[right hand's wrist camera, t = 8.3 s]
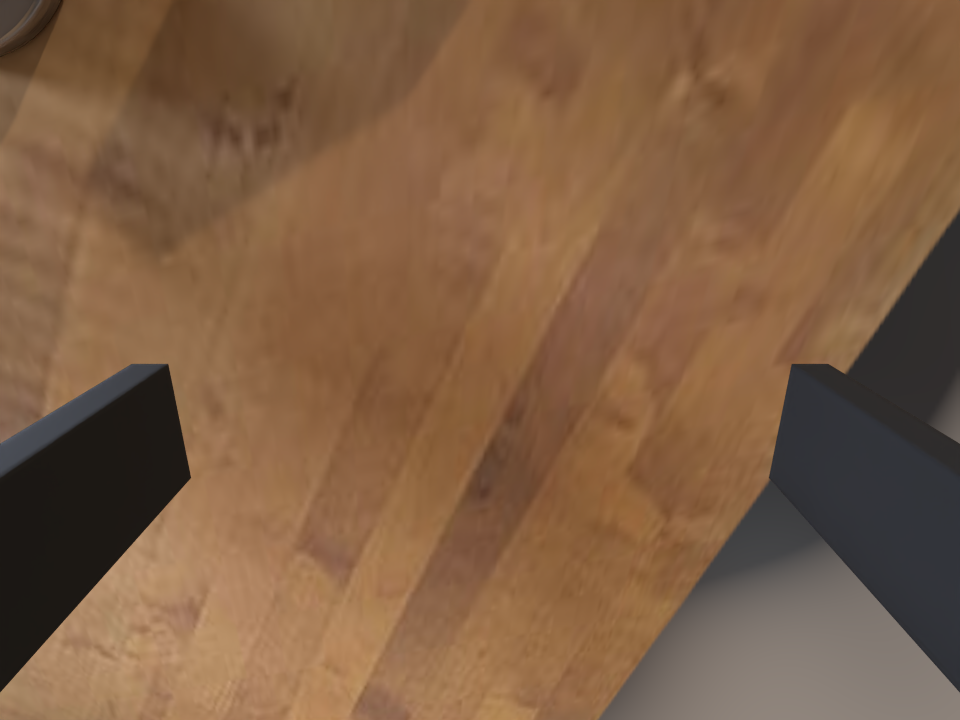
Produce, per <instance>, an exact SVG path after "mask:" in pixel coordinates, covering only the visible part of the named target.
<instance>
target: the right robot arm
mask: <svg viewBox="0 0 960 720" xmlns="http://www.w3.org/2000/svg"><path fill="white" fill-rule="evenodd" d="M60 1H61V0H0V56H2V55H5V54H7V53H10V52H12V51H14V50H16V49H18V48H20V47H22V46H23V45H25V44H26V43H27V42H29V41H30V40H32V39H33V38H34V37H35V36H36V35H37V34H38V33H39V32H40V31H41V30H42V29H43V28H44V27H45V26H46V24H47V23H48V22H49V21H50V19H51V18H52V16H53V14H54V13H55V11H56V10H57V8H58V6H59V3H60ZM190 478H191V476H190V471H189V466H188V461H187V456H186V451H185V446H184V441H183V436H182V431H181V426H180V421H179V416H178V411H177V406H176V401H175V396H174V391H173V386H172V381H171V376H170V371H169V366H168V364H131V365H129V366H128V367H126V368H124V369H123V370H121V371H120V372H118V373H116V374H115V375H113V376H111V377H110V378H108V379H106V380H105V381H103V382H101V383H100V384H98V385H96V386H95V387H93V388H91V389H90V390H88V391H87V392H85V393H83V394H82V395H80V396H78V397H77V398H75V399H73V400H72V401H70V402H68V403H67V404H65V405H63V406H62V407H60V408H58V409H57V410H55V411H54V412H52V413H50V414H49V415H47V416H45V417H44V418H42V419H40V420H39V421H37V422H35V423H34V424H32V425H30V426H29V427H27V428H26V429H24V430H22V431H21V432H19V433H17V434H16V435H14V436H12V437H11V438H9V439H7V440H6V441H4V442H2V443H1V444H0V692H1V691H2V690H3V689H4V687H5V686H6V685H7V684H8V683H9V682H10V681H11V680H12V678H13V677H14V676H15V675H16V674H17V673H18V672H19V671H20V669H21V668H22V667H23V666H24V665H25V664H26V663H27V662H28V660H29V659H30V658H31V657H32V656H33V655H34V654H35V653H36V652H37V650H38V649H39V648H40V647H41V646H42V645H43V644H44V643H45V641H46V640H47V639H48V638H49V637H50V636H51V635H52V634H53V632H54V631H55V630H56V629H57V628H58V627H59V626H60V625H61V623H62V622H63V621H64V620H65V619H66V618H67V617H68V616H69V614H70V613H71V612H72V611H73V610H74V609H75V608H76V607H77V605H78V604H79V603H80V602H81V601H82V600H83V599H84V598H85V596H86V595H87V594H88V593H89V592H90V591H91V590H92V589H93V587H94V586H95V585H96V584H97V583H98V582H99V581H100V580H101V578H102V577H103V576H104V575H105V574H106V573H107V572H108V571H109V569H110V568H111V567H112V566H113V565H114V564H115V563H116V562H117V560H118V559H119V558H120V557H121V556H122V555H123V554H124V553H125V551H126V550H127V549H128V548H129V547H130V546H131V545H132V544H133V542H134V541H135V540H136V539H137V538H138V537H139V536H140V535H141V533H142V532H143V531H144V530H145V529H146V528H147V527H148V526H149V524H150V523H151V522H152V521H153V520H154V519H155V518H156V517H157V515H158V514H159V513H160V512H161V511H162V510H163V509H164V508H165V506H166V505H167V504H168V503H169V502H170V501H171V500H172V499H173V497H174V496H175V495H176V494H177V493H178V492H179V491H180V490H181V488H182V487H183V486H184V485H185V484H186V483H187V482H188V481H189V479H190ZM769 478H770V479H771V481H772V482H773V483H774V484H775V485H776V486H777V487H778V488H779V490H780V491H781V492H782V493H783V494H784V495H785V496H786V497H787V499H788V500H789V501H790V502H791V503H792V504H793V505H794V506H795V508H796V509H797V510H798V511H799V512H800V513H801V514H802V515H803V517H804V518H805V519H806V520H807V521H808V522H809V523H810V524H811V525H812V527H813V528H814V529H815V530H816V531H817V532H818V533H819V535H820V536H821V537H822V538H823V539H824V540H825V541H826V542H827V544H828V545H829V546H830V547H831V548H832V549H833V550H834V551H835V553H836V554H837V555H838V556H839V557H840V558H841V559H842V560H843V562H844V563H845V564H846V565H847V566H848V567H849V568H850V569H851V570H852V572H853V573H854V574H855V575H856V576H857V577H858V578H859V580H860V581H861V582H862V583H863V584H864V585H865V586H866V587H867V589H868V590H869V591H870V592H871V593H872V594H873V595H874V596H875V598H876V599H877V600H878V601H879V602H880V603H881V604H882V605H883V607H884V608H885V609H886V610H887V611H888V612H889V613H890V614H891V616H892V617H893V618H894V619H895V620H896V621H897V622H898V623H899V625H900V626H901V627H902V628H903V629H904V630H905V631H906V632H907V634H908V635H909V636H910V637H911V638H912V639H913V640H914V641H915V642H916V644H917V645H918V646H919V647H920V648H921V649H922V650H923V651H924V653H925V654H926V655H927V656H928V657H929V658H930V659H931V660H932V662H933V663H934V664H935V665H936V666H937V667H938V668H939V669H940V671H941V672H942V673H943V674H944V675H945V676H946V677H947V678H948V679H949V681H950V682H951V683H952V684H953V685H954V686H955V687H956V689H957V690H958V691H959V692H960V444H959V443H958V442H956V441H954V440H953V439H951V438H949V437H948V436H946V435H944V434H943V433H941V432H939V431H938V430H936V429H934V428H933V427H931V426H930V425H928V424H926V423H925V422H923V421H921V420H920V419H918V418H916V417H915V416H913V415H911V414H910V413H908V412H906V411H905V410H903V409H901V408H900V407H898V406H897V405H895V404H893V403H892V402H890V401H888V400H887V399H885V398H883V397H882V396H880V395H878V394H877V393H875V392H873V391H872V390H870V389H868V388H867V387H865V386H864V385H862V384H860V383H859V382H857V381H855V380H854V379H852V378H850V377H849V376H847V375H845V374H844V373H842V372H840V371H839V370H837V369H836V368H834V367H832V366H831V365H829V364H792V366H791V371H790V376H789V381H788V386H787V391H786V396H785V401H784V406H783V411H782V416H781V421H780V426H779V431H778V436H777V441H776V446H775V451H774V456H773V461H772V466H771V471H770V476H769Z"/></svg>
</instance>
